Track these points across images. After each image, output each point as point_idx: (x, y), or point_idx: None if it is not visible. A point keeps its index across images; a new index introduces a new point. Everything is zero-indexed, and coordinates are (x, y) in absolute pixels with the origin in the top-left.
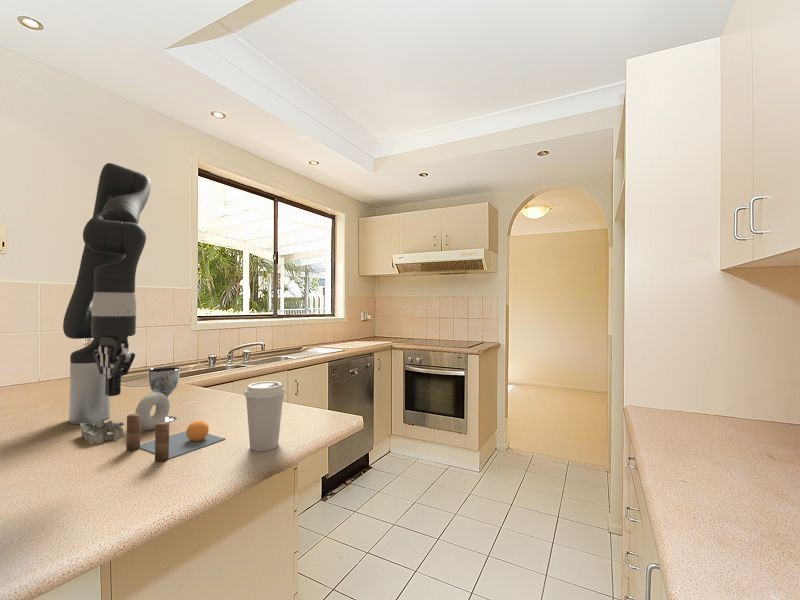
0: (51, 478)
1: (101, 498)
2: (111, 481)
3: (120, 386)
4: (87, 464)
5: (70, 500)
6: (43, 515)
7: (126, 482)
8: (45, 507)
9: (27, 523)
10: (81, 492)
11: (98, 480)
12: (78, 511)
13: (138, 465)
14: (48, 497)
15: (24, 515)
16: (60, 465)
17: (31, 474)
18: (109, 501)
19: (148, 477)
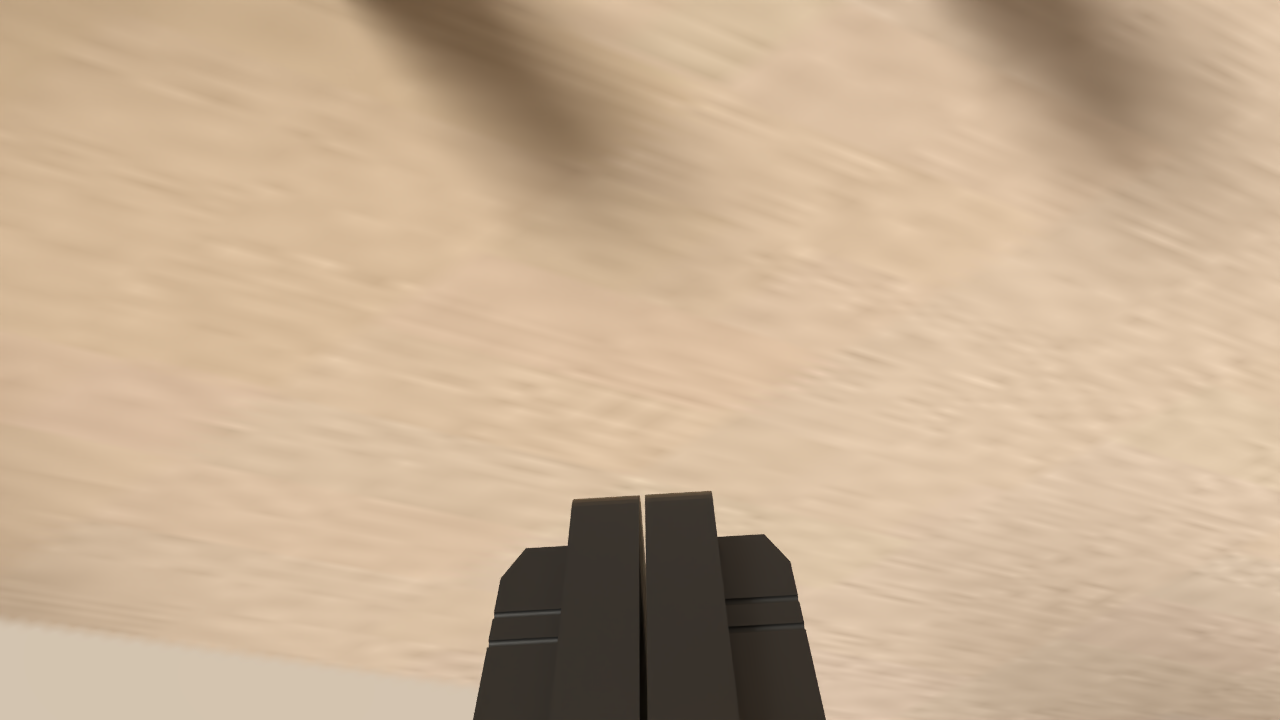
0: (531, 516)
1: (1181, 434)
2: (969, 307)
3: (715, 570)
4: (437, 297)
5: (1023, 541)
6: (1081, 659)
7: (1094, 251)
8: (986, 633)
9: (1099, 715)
10: (965, 474)
11: (862, 353)
12: (1219, 555)
13: (839, 52)
14: (855, 595)
15: (986, 705)
16: (291, 419)
17: (335, 568)
18: (1274, 422)
19: (1171, 113)
